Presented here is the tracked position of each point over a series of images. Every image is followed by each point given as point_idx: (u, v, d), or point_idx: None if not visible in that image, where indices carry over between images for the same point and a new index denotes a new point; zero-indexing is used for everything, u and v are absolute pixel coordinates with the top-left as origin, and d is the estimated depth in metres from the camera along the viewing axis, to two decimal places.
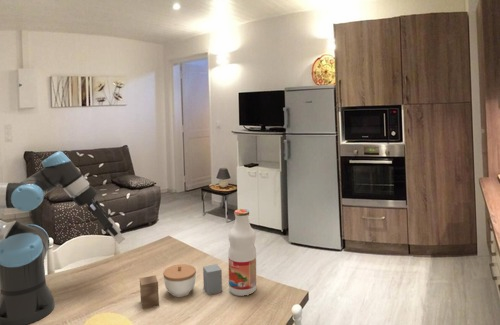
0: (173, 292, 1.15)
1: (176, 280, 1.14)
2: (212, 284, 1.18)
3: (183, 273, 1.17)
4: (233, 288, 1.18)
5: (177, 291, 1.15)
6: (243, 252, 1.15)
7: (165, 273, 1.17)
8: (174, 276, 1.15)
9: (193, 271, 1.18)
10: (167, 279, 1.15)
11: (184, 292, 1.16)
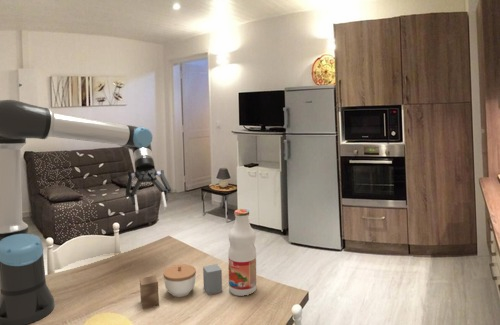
0: (173, 292, 1.15)
1: (176, 280, 1.14)
2: (212, 284, 1.18)
3: (183, 273, 1.17)
4: (233, 288, 1.18)
5: (177, 291, 1.15)
6: (243, 252, 1.15)
7: (165, 273, 1.17)
8: (174, 276, 1.15)
9: (193, 271, 1.18)
10: (167, 279, 1.15)
11: (184, 292, 1.16)
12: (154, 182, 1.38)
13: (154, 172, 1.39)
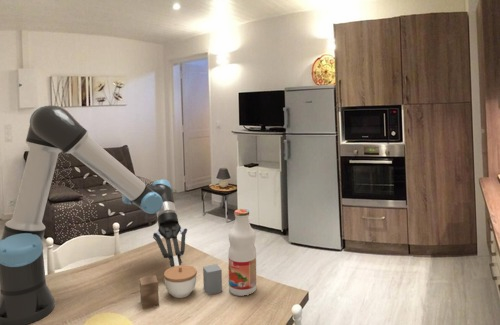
0: (174, 293, 1.15)
1: (177, 281, 1.13)
2: (212, 284, 1.18)
3: (184, 274, 1.16)
4: (233, 288, 1.18)
5: (178, 292, 1.14)
6: (243, 252, 1.15)
7: (166, 274, 1.16)
8: (175, 277, 1.14)
9: (194, 272, 1.18)
10: (168, 280, 1.14)
11: (185, 293, 1.15)
12: (173, 240, 1.32)
13: (177, 228, 1.34)
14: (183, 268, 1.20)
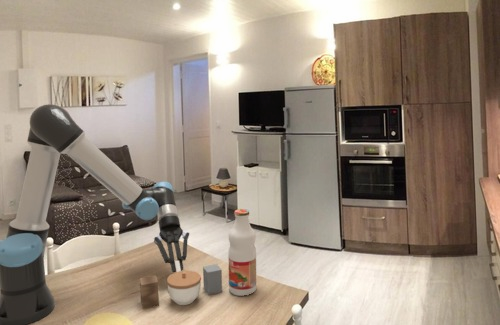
0: (179, 300, 1.10)
1: (183, 288, 1.09)
2: (212, 284, 1.18)
3: (189, 280, 1.12)
4: (233, 288, 1.18)
5: (184, 299, 1.10)
6: (243, 252, 1.15)
7: (169, 281, 1.11)
8: (180, 283, 1.09)
9: (198, 277, 1.14)
10: (172, 287, 1.09)
11: (190, 300, 1.11)
12: (175, 244, 1.27)
13: (179, 232, 1.30)
14: (186, 274, 1.16)
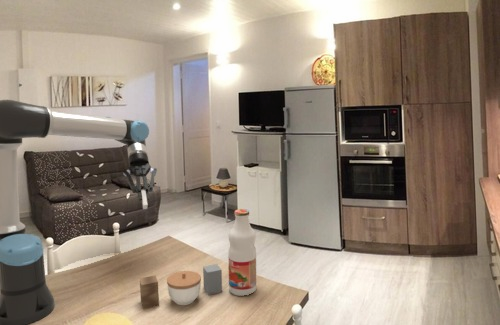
0: (179, 301, 1.10)
1: (183, 288, 1.09)
2: (212, 284, 1.18)
3: (189, 280, 1.12)
4: (233, 288, 1.18)
5: (184, 299, 1.10)
6: (243, 252, 1.15)
7: (169, 281, 1.11)
8: (180, 284, 1.09)
9: (198, 277, 1.14)
10: (172, 287, 1.09)
11: (190, 300, 1.11)
12: (143, 178, 1.38)
13: (147, 167, 1.40)
14: (186, 274, 1.16)
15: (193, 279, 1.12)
